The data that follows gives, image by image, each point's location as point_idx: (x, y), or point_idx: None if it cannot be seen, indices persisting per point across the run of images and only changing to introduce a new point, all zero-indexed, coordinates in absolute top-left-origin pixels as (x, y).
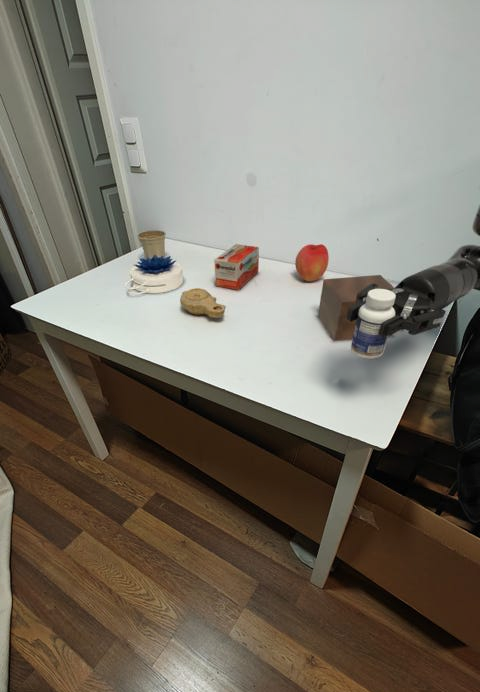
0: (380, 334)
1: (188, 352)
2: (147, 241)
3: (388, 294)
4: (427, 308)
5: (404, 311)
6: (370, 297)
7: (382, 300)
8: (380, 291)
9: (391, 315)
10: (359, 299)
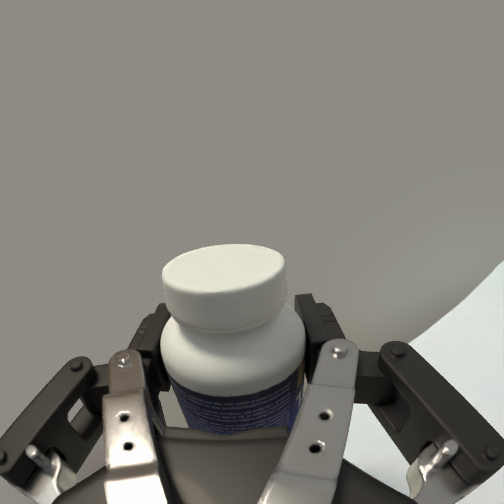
0: None
1: (473, 327)
2: None
3: (197, 270)
4: (60, 495)
5: (134, 381)
6: (240, 245)
7: (192, 251)
8: (243, 267)
9: (164, 327)
10: (373, 353)
